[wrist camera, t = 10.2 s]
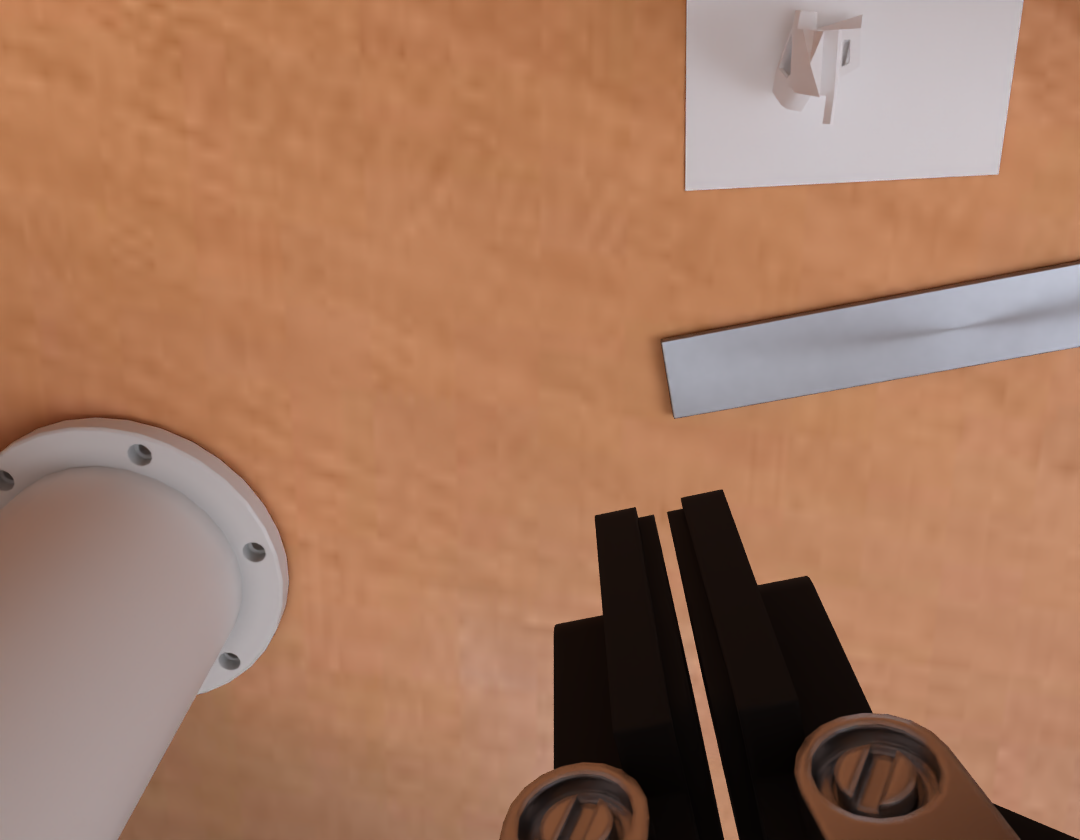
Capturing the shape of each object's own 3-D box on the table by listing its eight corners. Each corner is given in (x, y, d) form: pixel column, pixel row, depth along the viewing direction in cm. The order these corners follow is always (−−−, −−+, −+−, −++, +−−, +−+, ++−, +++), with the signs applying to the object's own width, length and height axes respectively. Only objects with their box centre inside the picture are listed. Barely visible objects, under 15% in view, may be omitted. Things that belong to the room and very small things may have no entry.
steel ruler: (673, 415, 33) (674, 419, 33) (660, 339, 32) (661, 342, 32) (1260, 310, 31) (1266, 313, 31) (1270, 224, 30) (1276, 226, 30)
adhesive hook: (773, 11, 28) (796, 11, 25) (860, 5, 28) (893, 5, 25) (769, 116, 29) (790, 128, 26) (852, 111, 29) (883, 123, 26)
